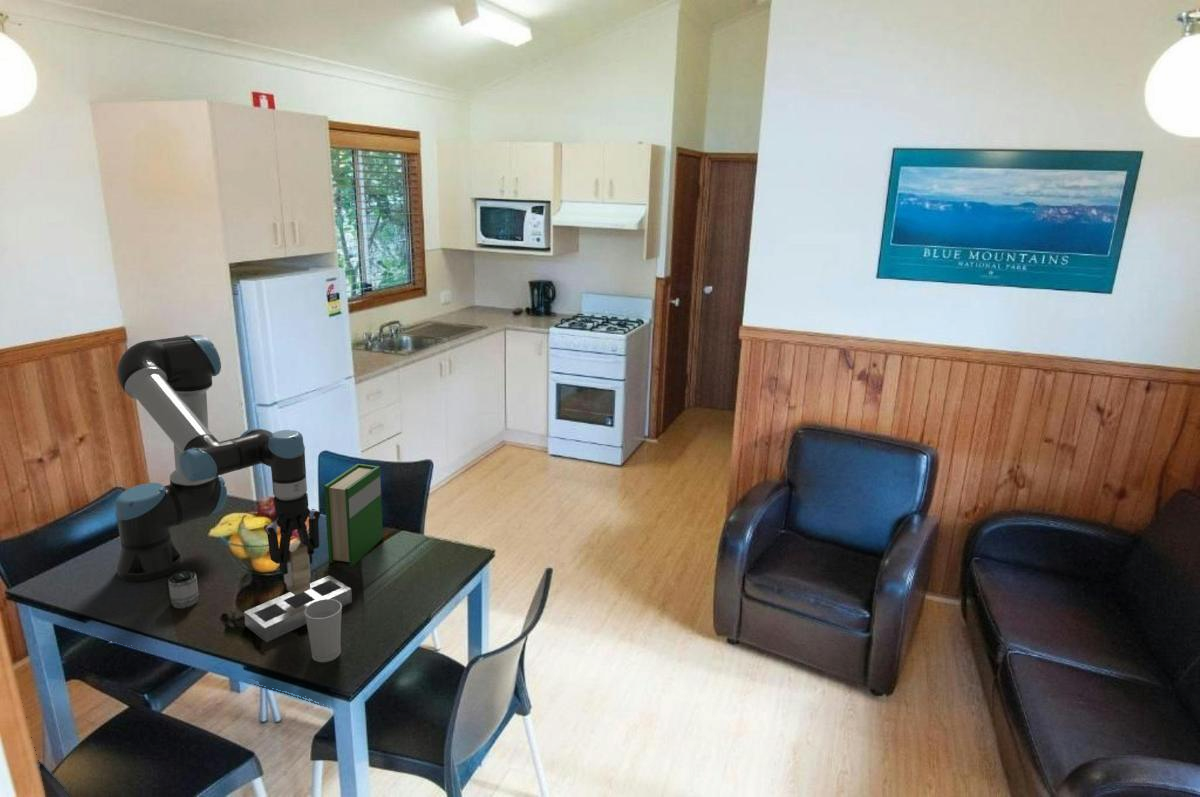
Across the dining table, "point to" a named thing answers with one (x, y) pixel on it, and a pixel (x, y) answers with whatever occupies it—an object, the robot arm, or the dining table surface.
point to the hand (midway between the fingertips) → (297, 579)
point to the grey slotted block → (293, 608)
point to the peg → (299, 568)
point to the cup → (324, 629)
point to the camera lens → (183, 589)
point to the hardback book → (353, 513)
